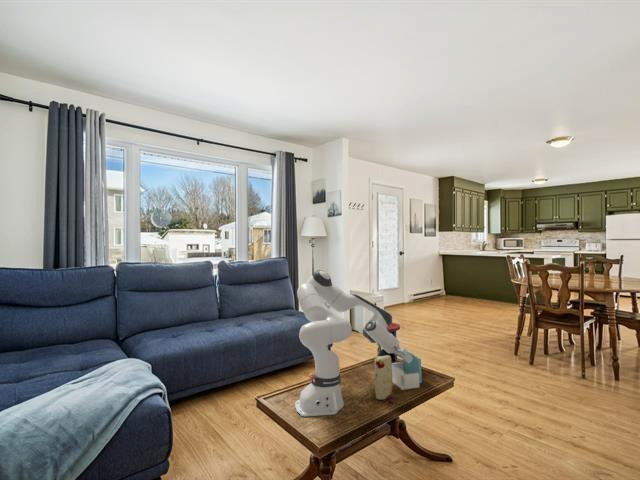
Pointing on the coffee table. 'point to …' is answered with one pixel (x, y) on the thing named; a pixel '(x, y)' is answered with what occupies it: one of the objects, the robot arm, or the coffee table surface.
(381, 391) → the food model
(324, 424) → the coffee table surface
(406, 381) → the white open box
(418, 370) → the box lid
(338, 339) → the robot arm
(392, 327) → the hourglass
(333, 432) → the coffee table surface
